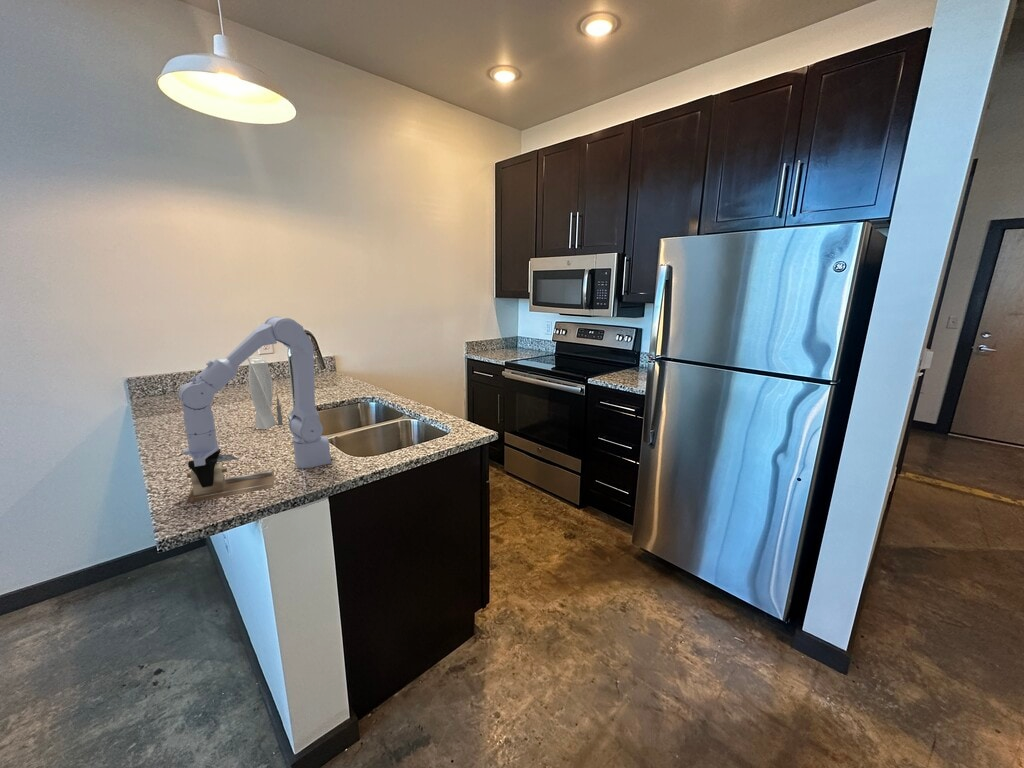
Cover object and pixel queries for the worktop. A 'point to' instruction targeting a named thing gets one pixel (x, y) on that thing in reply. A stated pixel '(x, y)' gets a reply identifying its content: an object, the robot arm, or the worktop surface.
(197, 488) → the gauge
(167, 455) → the worktop surface
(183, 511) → the worktop surface
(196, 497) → the board
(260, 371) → the skyscraper
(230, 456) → the driftwood
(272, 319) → the robot arm
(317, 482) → the worktop surface
